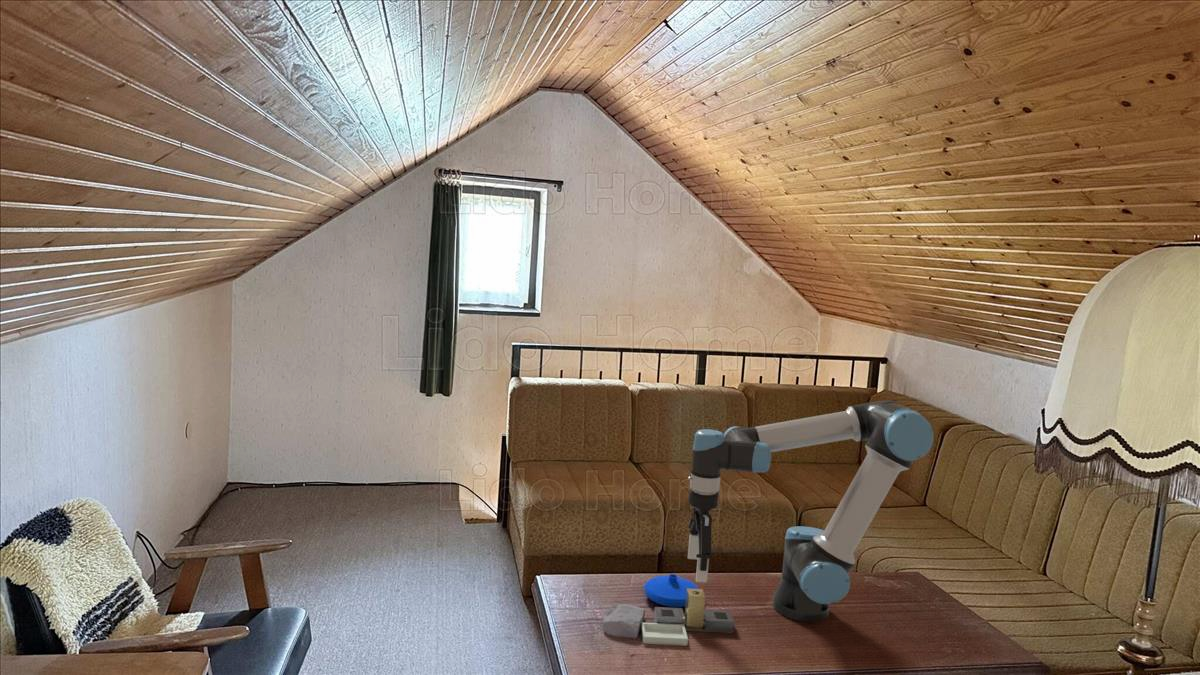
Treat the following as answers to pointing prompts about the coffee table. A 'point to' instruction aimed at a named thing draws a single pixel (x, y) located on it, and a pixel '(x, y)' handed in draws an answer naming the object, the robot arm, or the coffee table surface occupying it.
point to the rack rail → (711, 619)
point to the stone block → (623, 620)
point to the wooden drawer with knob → (694, 608)
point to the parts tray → (664, 634)
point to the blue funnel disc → (668, 590)
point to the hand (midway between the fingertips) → (696, 569)
